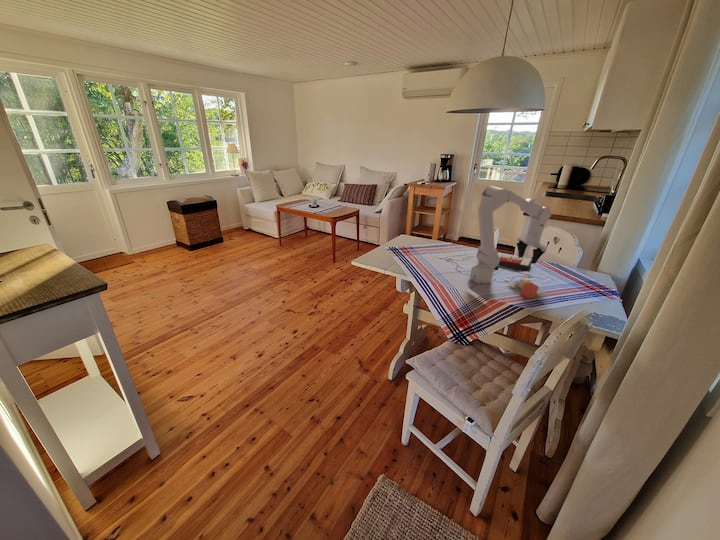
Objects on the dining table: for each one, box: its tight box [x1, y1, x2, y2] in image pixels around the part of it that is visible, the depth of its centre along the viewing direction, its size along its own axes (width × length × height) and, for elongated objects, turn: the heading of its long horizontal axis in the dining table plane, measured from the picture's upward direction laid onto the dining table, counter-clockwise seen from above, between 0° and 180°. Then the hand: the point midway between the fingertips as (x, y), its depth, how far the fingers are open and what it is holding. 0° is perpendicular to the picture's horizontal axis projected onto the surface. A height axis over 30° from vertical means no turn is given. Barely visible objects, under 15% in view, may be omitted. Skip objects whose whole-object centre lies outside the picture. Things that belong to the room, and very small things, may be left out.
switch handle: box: [517, 277, 531, 287], centre depth 131 cm, size 4×2×3 cm, turn 108°
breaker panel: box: [505, 284, 550, 300], centre depth 128 cm, size 12×12×2 cm
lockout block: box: [521, 281, 540, 299], centre depth 123 cm, size 4×4×5 cm
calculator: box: [498, 254, 532, 273], centre depth 157 cm, size 11×4×15 cm
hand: (526, 260), depth 138 cm, fingers open, 7 cm apart
